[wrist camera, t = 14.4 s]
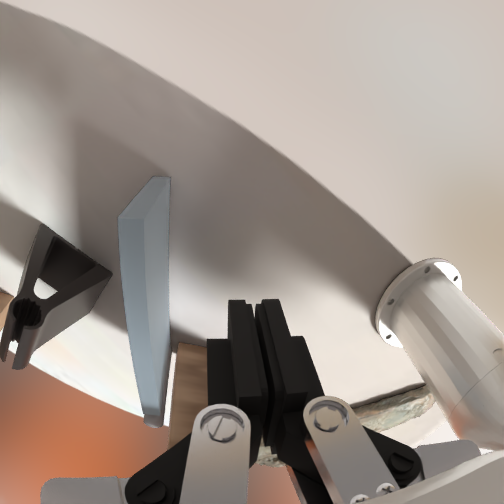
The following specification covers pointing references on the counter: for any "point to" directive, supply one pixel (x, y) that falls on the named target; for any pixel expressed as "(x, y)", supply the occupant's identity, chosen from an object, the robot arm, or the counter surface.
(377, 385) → the counter surface
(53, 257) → the phone stand
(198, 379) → the brown wooden blocks
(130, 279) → the blue rectangular panel
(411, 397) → the long grey stone
